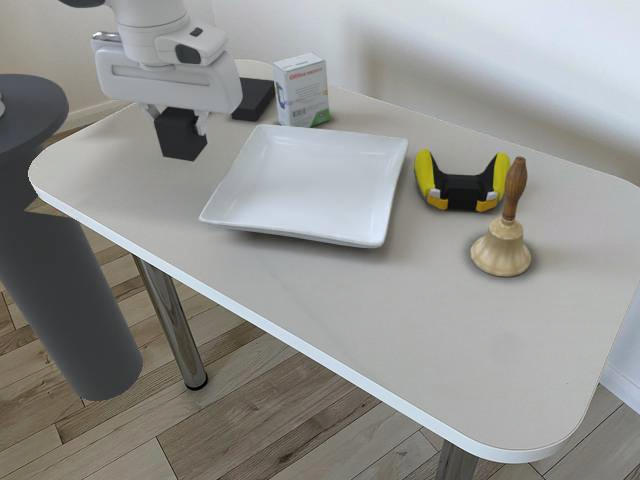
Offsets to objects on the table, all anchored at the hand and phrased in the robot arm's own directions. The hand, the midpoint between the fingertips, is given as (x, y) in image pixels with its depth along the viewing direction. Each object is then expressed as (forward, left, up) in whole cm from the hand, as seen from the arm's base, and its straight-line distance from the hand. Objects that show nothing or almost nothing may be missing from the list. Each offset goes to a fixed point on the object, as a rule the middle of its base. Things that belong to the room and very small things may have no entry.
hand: (180, 130), depth 81 cm
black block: (0, 0, -4) cm, 4 cm away
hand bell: (+48, -4, -11) cm, 50 cm away
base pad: (-7, +29, -11) cm, 32 cm away
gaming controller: (+41, +9, -11) cm, 44 cm away
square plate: (+19, +4, -11) cm, 22 cm away
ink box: (+10, +25, -12) cm, 29 cm away
